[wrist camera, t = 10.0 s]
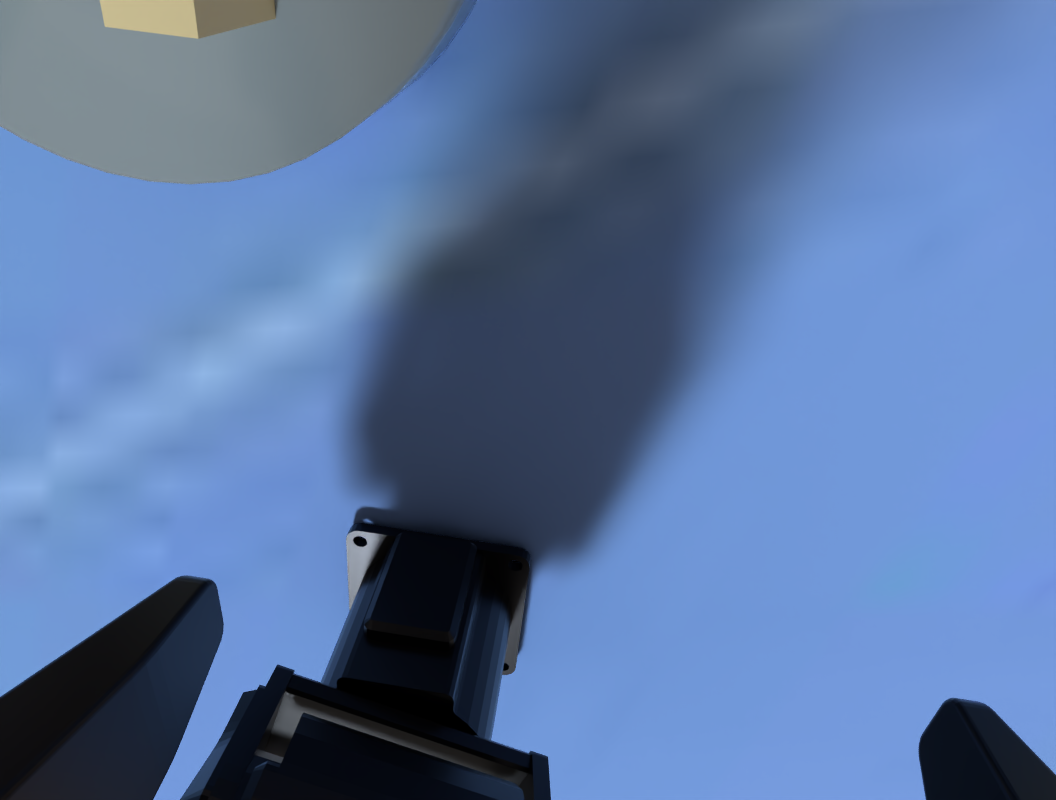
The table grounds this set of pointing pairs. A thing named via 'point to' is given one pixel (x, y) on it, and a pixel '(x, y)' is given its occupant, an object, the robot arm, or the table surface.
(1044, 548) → the table surface
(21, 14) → the blue-grey bowl
